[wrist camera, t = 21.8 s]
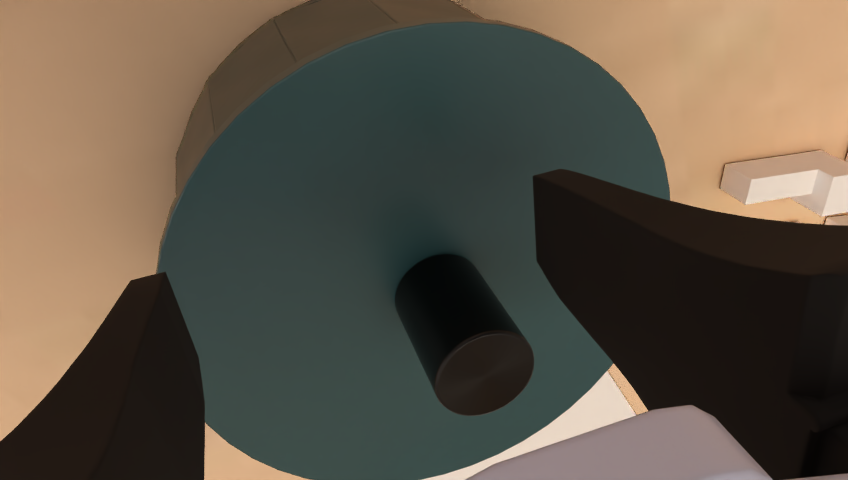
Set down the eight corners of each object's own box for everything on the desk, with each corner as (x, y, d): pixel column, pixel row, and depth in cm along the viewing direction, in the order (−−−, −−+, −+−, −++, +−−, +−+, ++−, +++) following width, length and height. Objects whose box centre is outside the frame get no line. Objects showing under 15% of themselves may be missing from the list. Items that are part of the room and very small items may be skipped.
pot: (84, 189, 22) (55, 305, 16) (402, -111, 20) (484, -92, 15) (358, 391, 29) (399, 517, 23) (607, 180, 27) (711, 263, 22)
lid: (179, 493, 21) (181, 641, 17) (123, 1, 14) (105, 63, 10) (596, 423, 25) (673, 529, 21) (704, 18, 18) (842, 66, 15)
